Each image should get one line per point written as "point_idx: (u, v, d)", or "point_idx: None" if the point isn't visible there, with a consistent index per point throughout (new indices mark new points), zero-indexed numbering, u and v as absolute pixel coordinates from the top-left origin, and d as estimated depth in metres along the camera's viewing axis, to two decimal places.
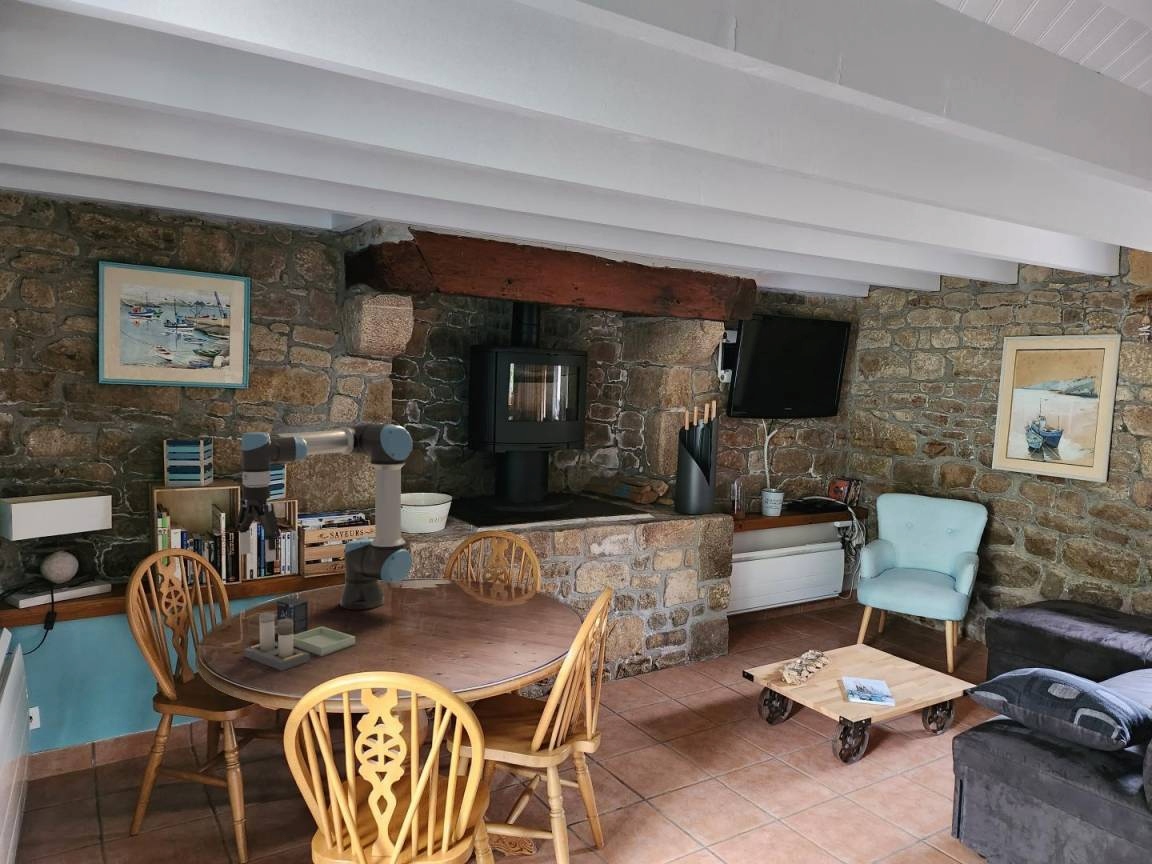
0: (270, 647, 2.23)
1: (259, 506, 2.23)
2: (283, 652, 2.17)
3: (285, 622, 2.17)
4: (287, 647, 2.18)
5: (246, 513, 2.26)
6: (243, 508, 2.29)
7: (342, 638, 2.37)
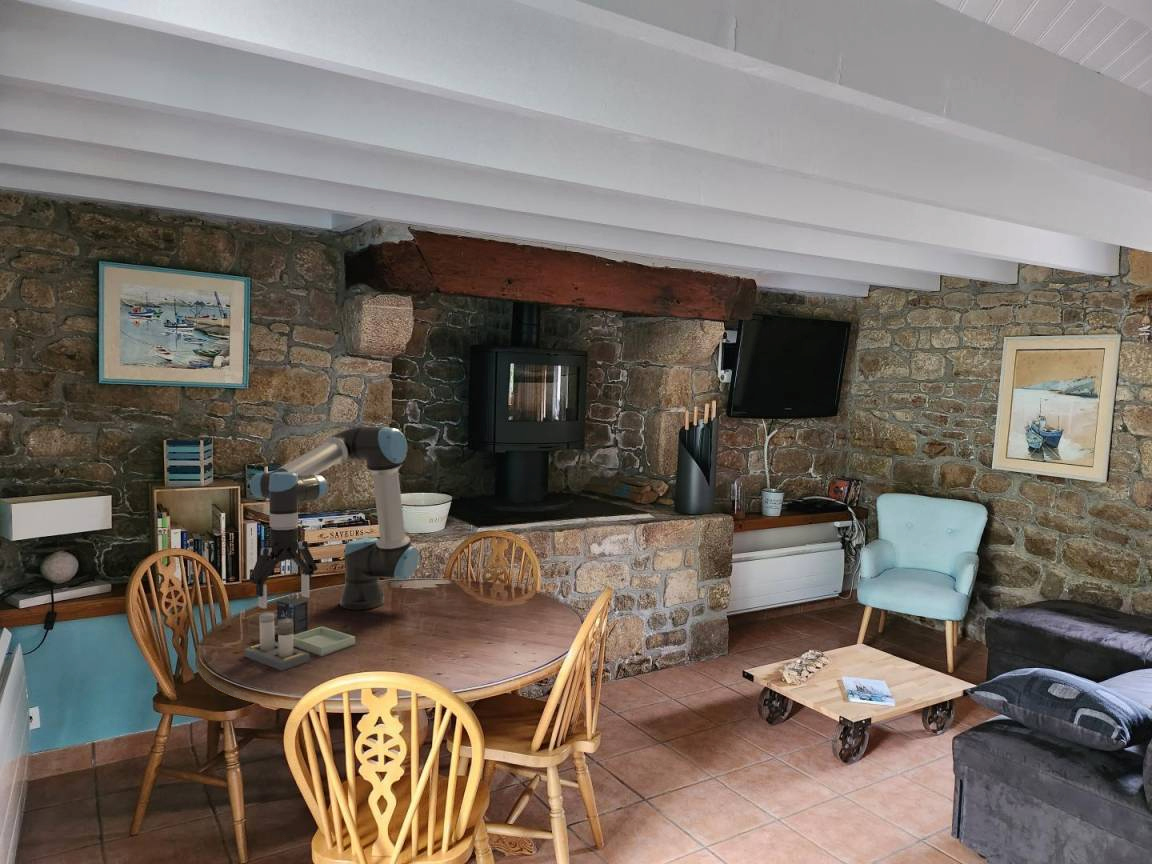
0: (270, 647, 2.23)
1: None
2: (283, 652, 2.18)
3: (285, 622, 2.17)
4: (287, 647, 2.18)
5: None
6: (300, 549, 2.23)
7: (342, 638, 2.37)
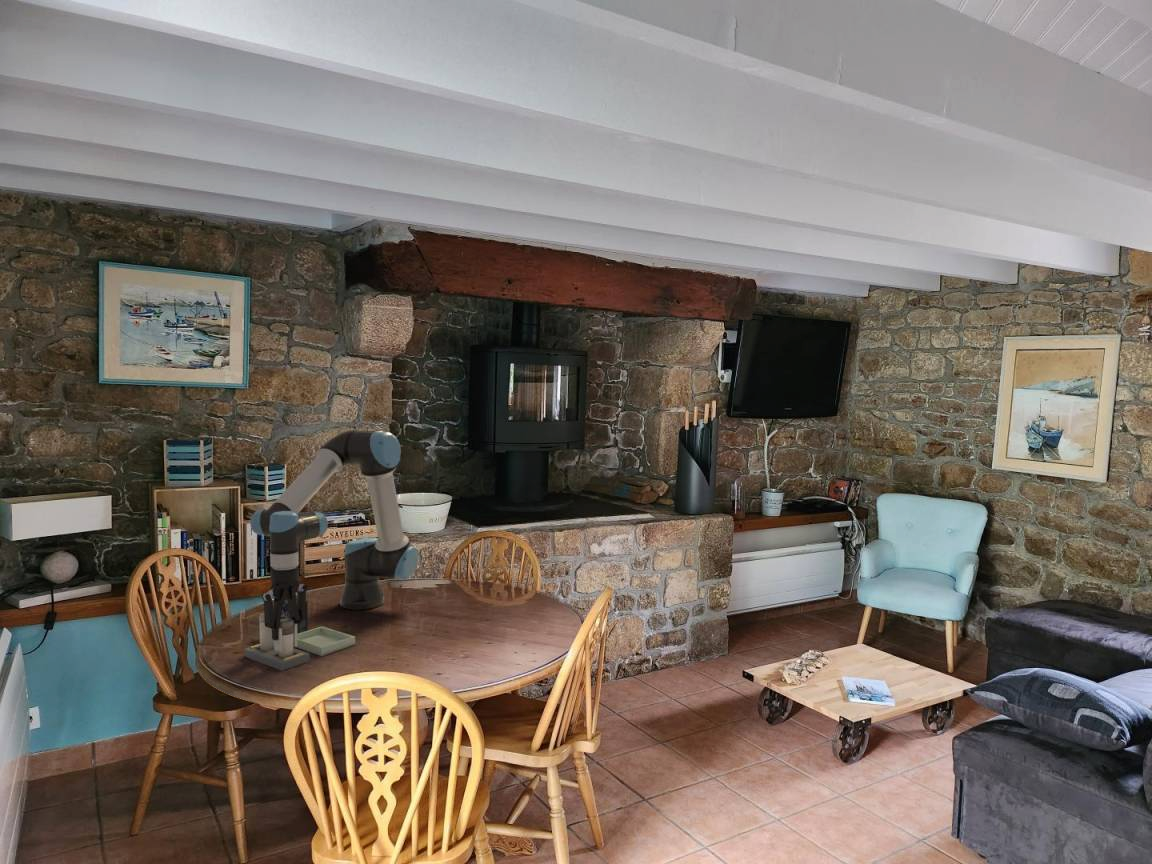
0: (270, 647, 2.23)
1: None
2: (283, 652, 2.17)
3: (285, 622, 2.17)
4: (287, 647, 2.18)
5: None
6: (298, 592, 2.23)
7: (342, 638, 2.37)
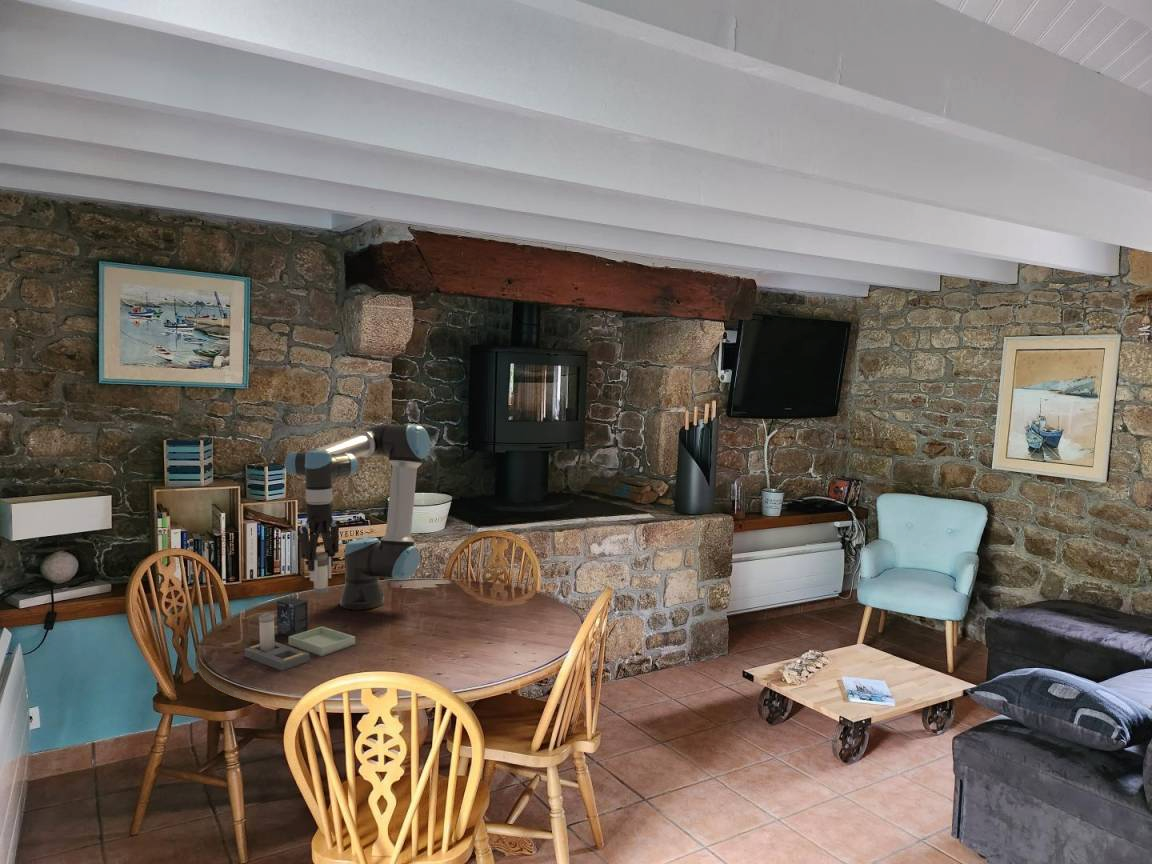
0: (270, 647, 2.23)
1: None
2: (318, 583, 2.31)
3: (320, 554, 2.31)
4: (322, 578, 2.31)
5: None
6: (331, 527, 2.36)
7: (342, 638, 2.37)
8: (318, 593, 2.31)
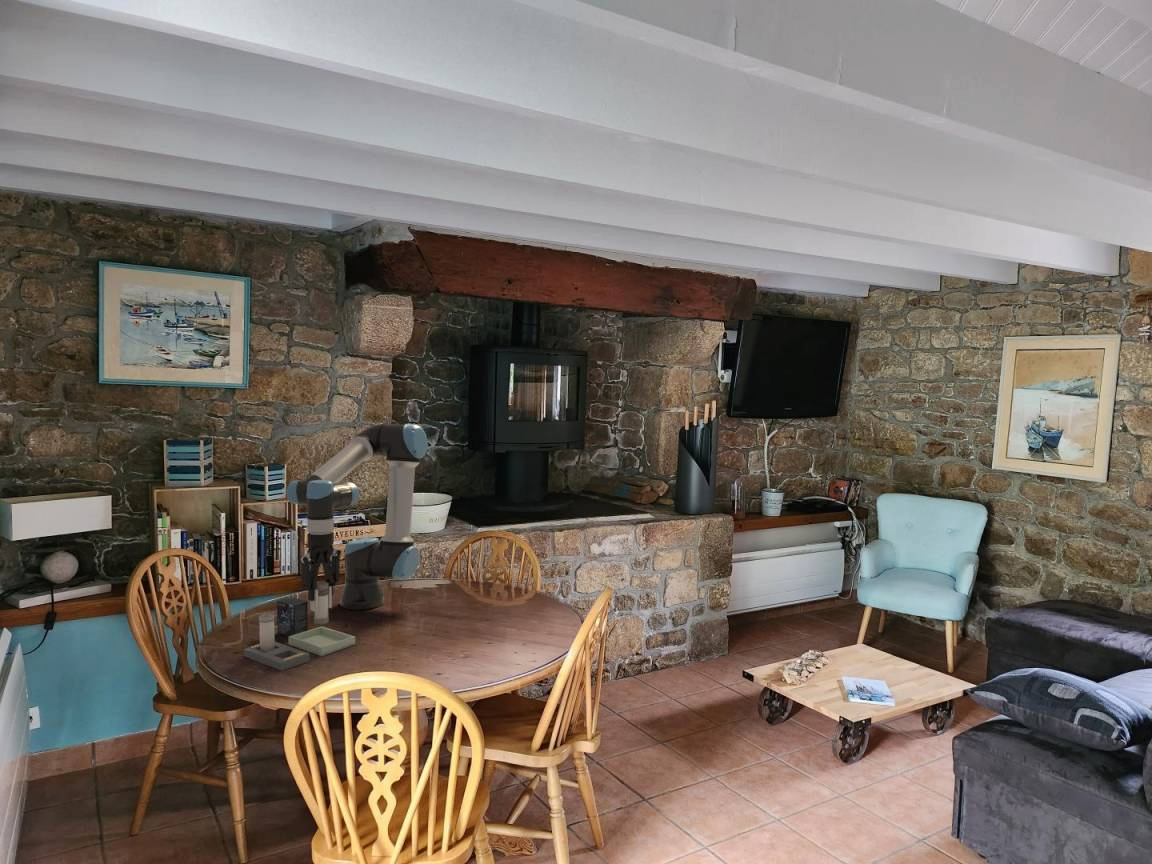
0: (270, 647, 2.23)
1: None
2: (318, 612, 2.31)
3: (321, 584, 2.31)
4: (323, 608, 2.32)
5: None
6: (332, 556, 2.37)
7: (342, 638, 2.37)
8: (318, 623, 2.31)
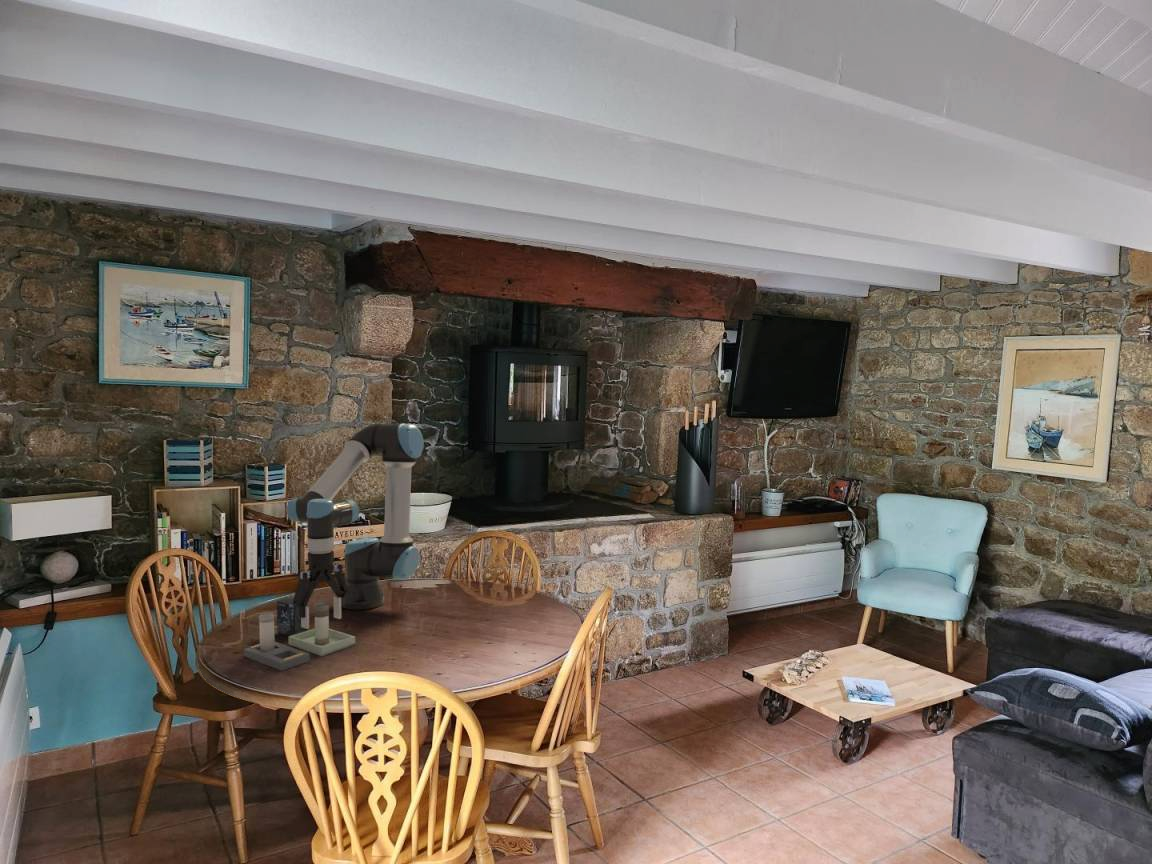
0: (270, 647, 2.23)
1: None
2: (319, 633, 2.32)
3: (322, 605, 2.32)
4: (323, 628, 2.32)
5: None
6: (334, 571, 2.38)
7: (342, 638, 2.37)
8: (319, 644, 2.32)
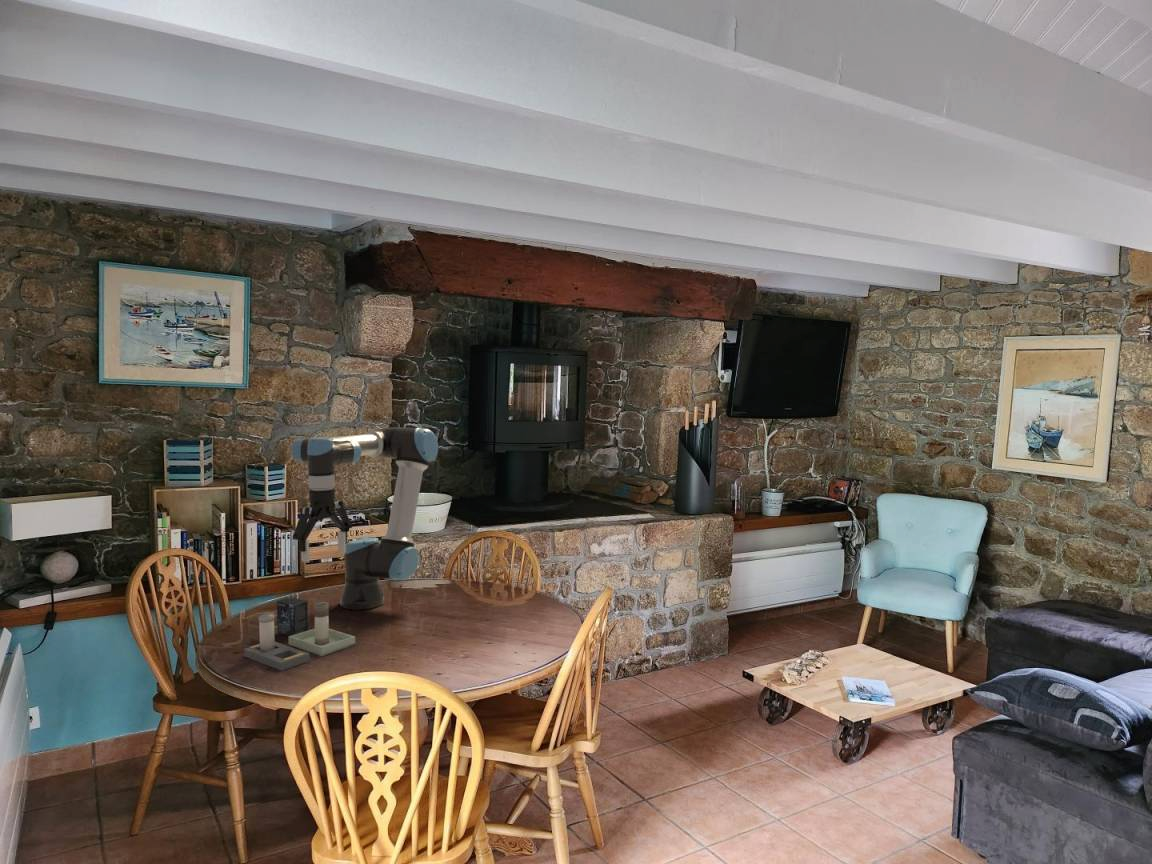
0: (270, 647, 2.23)
1: None
2: (319, 633, 2.32)
3: (321, 605, 2.32)
4: (323, 628, 2.32)
5: None
6: (336, 508, 2.41)
7: (342, 638, 2.37)
8: (319, 644, 2.32)
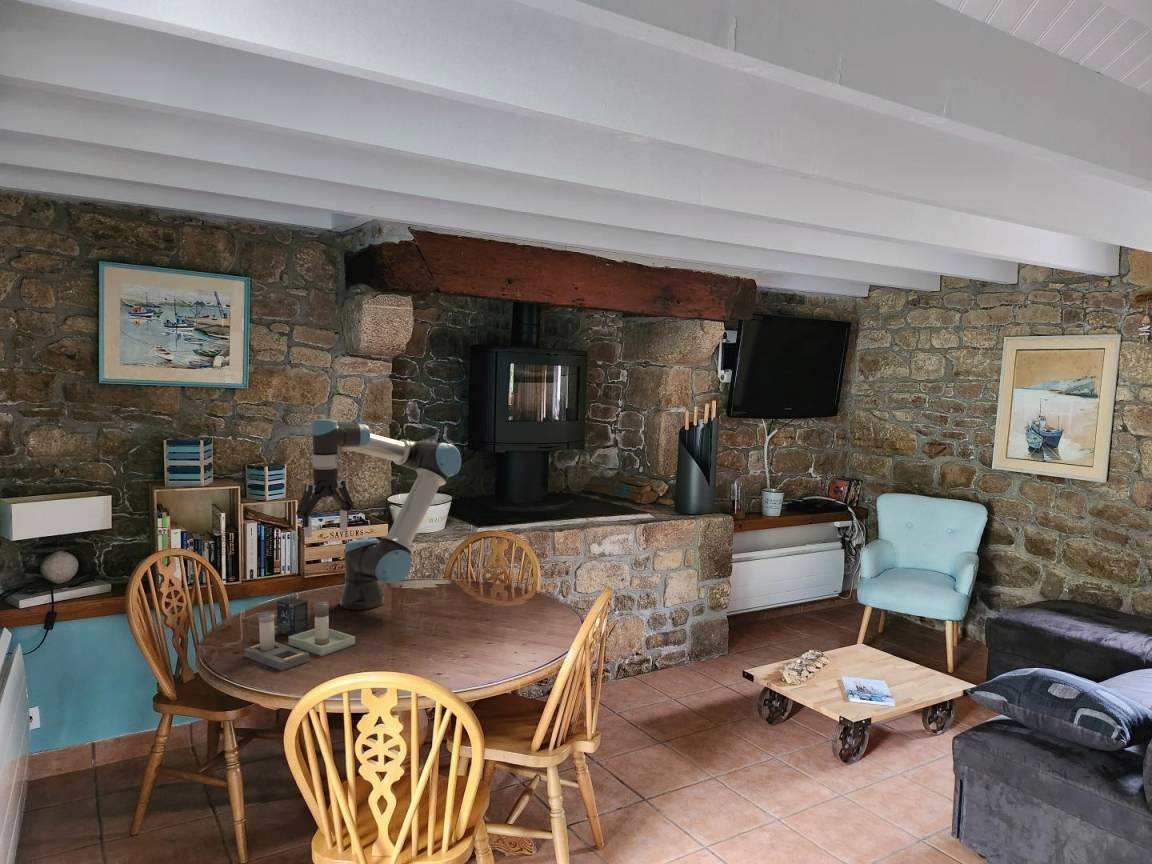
0: (270, 647, 2.23)
1: None
2: (319, 633, 2.32)
3: (321, 605, 2.32)
4: (323, 628, 2.32)
5: None
6: (339, 488, 2.52)
7: (342, 638, 2.37)
8: (319, 644, 2.32)
